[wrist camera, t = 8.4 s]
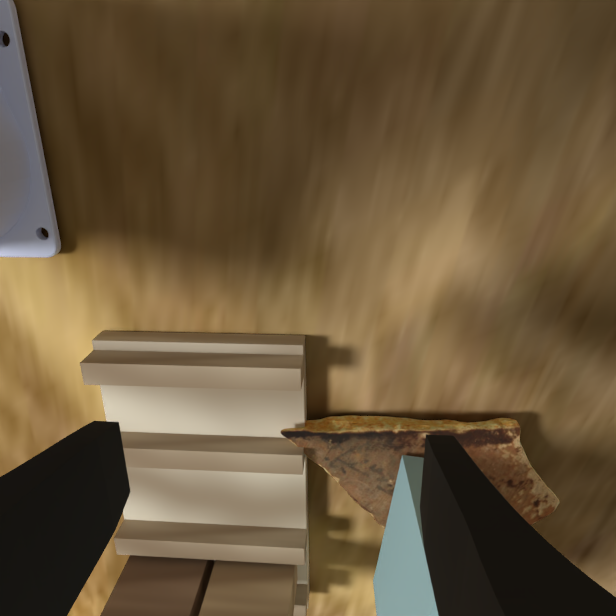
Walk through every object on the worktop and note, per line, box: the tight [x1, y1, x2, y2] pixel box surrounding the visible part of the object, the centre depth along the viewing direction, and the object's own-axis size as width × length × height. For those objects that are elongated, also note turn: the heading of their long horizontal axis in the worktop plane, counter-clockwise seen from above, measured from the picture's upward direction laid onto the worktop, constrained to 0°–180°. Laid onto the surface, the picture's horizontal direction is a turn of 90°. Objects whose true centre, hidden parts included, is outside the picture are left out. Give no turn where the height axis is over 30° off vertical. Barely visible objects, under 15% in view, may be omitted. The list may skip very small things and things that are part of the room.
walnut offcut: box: [100, 555, 214, 616], centre depth 24 cm, size 2×4×4 cm, turn 91°
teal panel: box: [373, 455, 439, 616], centre depth 20 cm, size 2×7×7 cm, turn 172°
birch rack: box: [80, 331, 310, 616], centre depth 24 cm, size 15×9×2 cm, turn 1°
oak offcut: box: [199, 560, 298, 616], centre depth 24 cm, size 2×4×4 cm, turn 91°
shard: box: [280, 415, 560, 529], centre depth 23 cm, size 11×8×2 cm
